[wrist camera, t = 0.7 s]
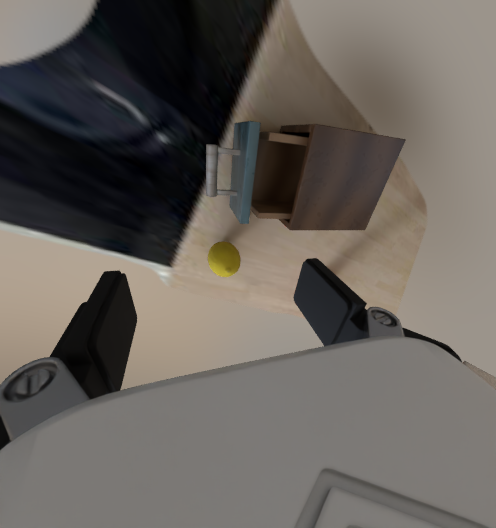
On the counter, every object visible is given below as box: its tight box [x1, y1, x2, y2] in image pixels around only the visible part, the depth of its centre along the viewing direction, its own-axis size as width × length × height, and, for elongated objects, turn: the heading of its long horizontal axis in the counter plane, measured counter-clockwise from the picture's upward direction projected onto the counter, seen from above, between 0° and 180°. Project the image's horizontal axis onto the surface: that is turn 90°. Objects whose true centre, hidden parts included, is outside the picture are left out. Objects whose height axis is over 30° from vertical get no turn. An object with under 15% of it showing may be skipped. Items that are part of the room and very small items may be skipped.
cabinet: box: [279, 124, 405, 230], centre depth 31 cm, size 14×13×10 cm
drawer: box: [206, 121, 309, 224], centre depth 28 cm, size 17×11×8 cm
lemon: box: [208, 242, 240, 277], centre depth 35 cm, size 6×6×8 cm
